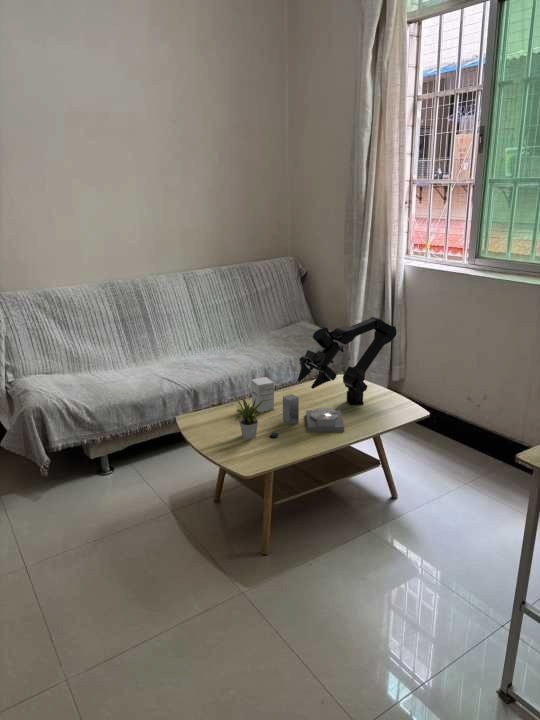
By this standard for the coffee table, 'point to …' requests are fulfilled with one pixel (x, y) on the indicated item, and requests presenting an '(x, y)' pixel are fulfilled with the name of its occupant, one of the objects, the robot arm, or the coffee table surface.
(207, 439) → the coffee table surface
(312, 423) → the scale base
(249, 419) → the house plant
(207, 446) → the coffee table surface
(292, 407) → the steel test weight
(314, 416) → the scale pan
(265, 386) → the supplement box
